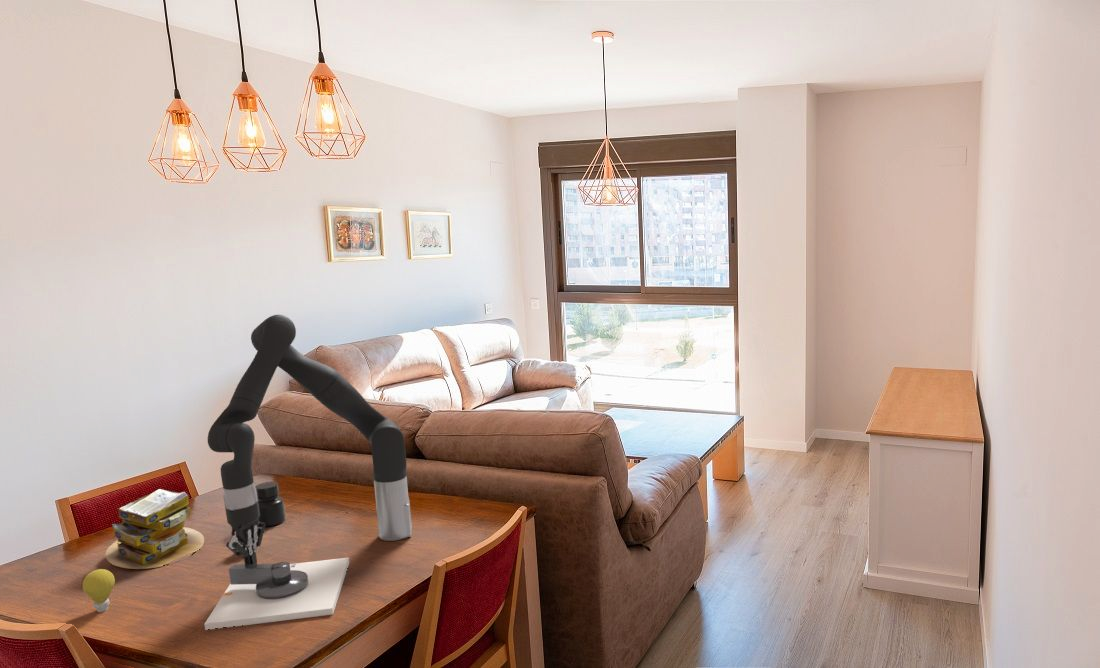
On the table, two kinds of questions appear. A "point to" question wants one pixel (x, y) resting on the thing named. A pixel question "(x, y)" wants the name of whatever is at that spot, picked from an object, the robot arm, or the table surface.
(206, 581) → the table surface
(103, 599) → the light bulb
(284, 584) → the dial
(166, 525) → the stack of boxes
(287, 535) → the table surface
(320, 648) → the table surface
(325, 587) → the dial plate
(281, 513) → the ink bottle
